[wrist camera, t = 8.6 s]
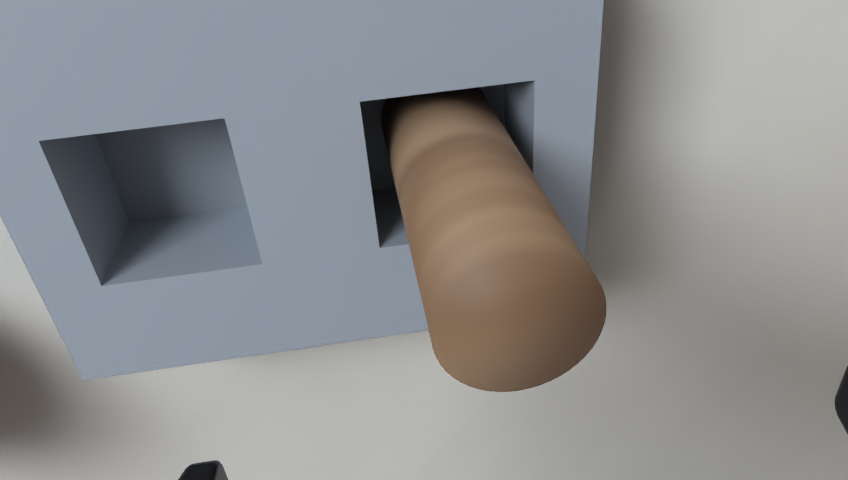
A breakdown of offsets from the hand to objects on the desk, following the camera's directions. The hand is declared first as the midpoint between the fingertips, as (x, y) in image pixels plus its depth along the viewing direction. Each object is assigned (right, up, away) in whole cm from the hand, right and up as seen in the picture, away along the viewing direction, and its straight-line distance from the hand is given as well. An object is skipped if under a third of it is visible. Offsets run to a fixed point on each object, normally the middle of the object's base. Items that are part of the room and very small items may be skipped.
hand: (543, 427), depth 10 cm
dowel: (-1, +6, +9) cm, 11 cm away
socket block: (-5, +6, +10) cm, 13 cm away
